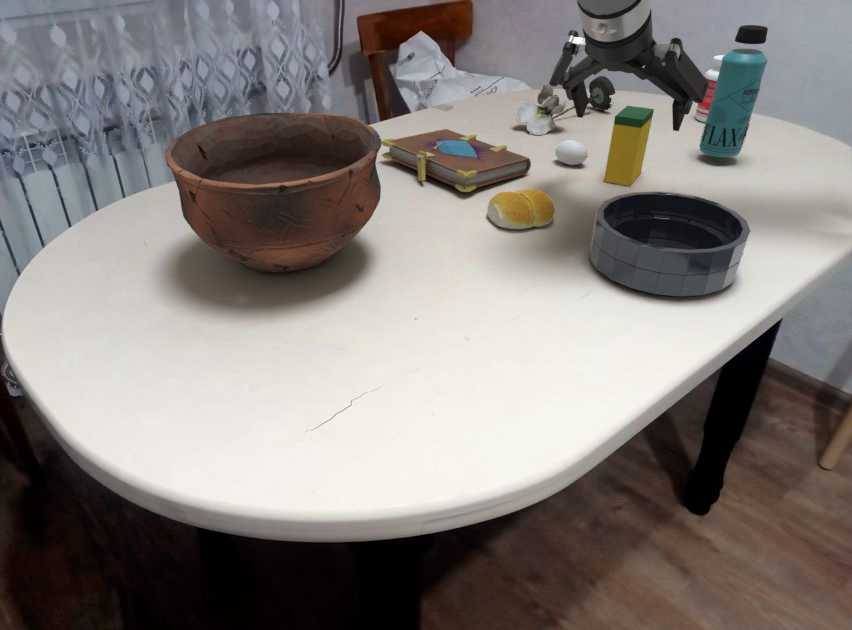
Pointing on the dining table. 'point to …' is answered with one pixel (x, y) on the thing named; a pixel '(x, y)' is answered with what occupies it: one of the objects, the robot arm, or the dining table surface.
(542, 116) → the artificial flower
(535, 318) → the dining table surface
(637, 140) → the sponge
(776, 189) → the dining table surface
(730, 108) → the beverage bottle
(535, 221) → the bread roll
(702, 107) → the pill bottle
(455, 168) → the book
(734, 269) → the wash bowl
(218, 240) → the bowl
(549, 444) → the dining table surface
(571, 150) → the egg
